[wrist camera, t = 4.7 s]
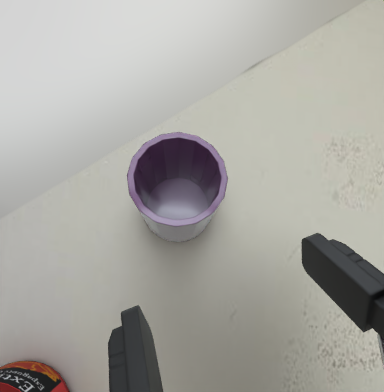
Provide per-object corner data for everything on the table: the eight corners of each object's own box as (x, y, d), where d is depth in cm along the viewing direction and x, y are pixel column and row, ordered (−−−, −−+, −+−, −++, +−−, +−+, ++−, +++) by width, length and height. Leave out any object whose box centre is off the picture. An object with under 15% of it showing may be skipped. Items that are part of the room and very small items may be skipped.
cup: (185, 256, 23) (190, 246, 15) (129, 215, 24) (106, 187, 16) (224, 200, 24) (245, 166, 17) (170, 164, 25) (167, 115, 17)
